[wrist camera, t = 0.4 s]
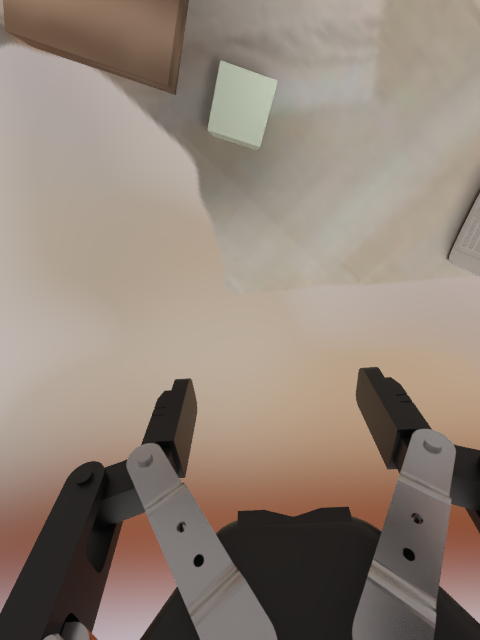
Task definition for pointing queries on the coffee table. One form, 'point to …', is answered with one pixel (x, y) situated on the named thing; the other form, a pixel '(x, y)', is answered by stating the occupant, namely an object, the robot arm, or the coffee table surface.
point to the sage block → (241, 105)
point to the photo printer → (468, 243)
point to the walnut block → (107, 34)
